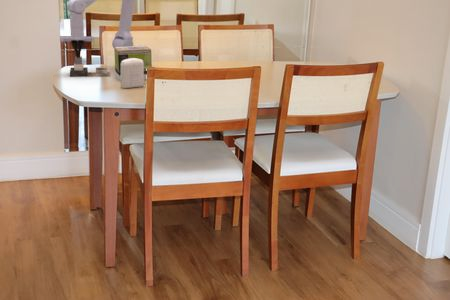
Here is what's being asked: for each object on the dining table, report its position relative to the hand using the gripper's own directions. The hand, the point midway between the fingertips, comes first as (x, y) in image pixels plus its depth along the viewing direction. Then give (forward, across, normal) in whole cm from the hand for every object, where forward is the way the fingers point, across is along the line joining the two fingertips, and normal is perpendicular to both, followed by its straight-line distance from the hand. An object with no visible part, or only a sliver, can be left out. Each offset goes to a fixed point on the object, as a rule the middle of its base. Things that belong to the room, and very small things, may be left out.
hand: (78, 57), depth 283 cm
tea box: (+9, +24, -8) cm, 27 cm away
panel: (+9, +5, 0) cm, 10 cm away
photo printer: (+9, +23, -21) cm, 32 cm away
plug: (+8, 0, 0) cm, 8 cm away
